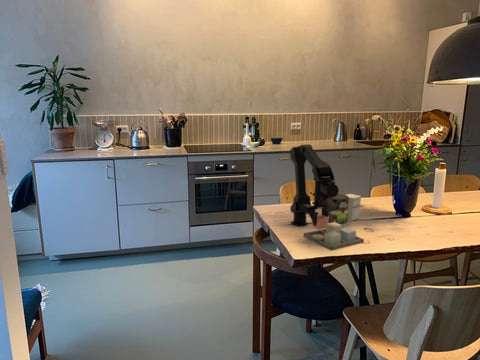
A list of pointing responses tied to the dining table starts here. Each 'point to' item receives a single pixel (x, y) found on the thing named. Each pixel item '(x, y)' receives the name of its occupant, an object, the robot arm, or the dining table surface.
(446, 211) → the dining table surface
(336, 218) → the coffee can
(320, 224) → the terracotta block
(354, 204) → the supplement box
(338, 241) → the charcoal frame
